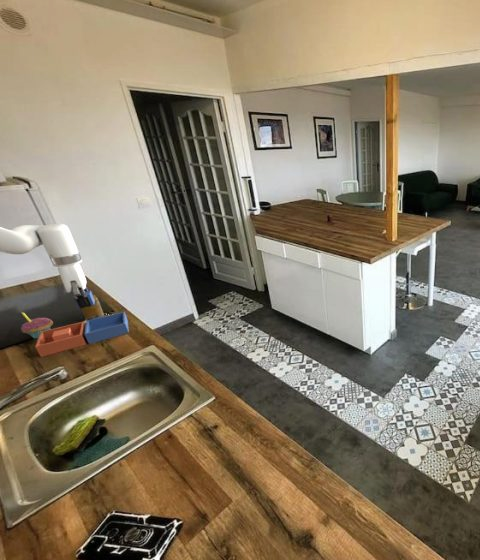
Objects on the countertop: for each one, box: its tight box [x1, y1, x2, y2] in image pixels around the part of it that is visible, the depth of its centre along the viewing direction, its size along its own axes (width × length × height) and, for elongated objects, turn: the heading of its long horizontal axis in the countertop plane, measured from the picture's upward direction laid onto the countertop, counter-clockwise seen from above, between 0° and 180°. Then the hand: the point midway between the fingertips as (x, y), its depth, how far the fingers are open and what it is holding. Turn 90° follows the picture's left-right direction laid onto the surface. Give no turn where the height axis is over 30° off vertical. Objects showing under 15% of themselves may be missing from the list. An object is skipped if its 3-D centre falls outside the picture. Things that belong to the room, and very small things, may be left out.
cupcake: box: [20, 311, 54, 339], centre depth 122 cm, size 9×8×12 cm
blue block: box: [72, 290, 95, 309], centre depth 116 cm, size 4×4×4 cm
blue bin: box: [85, 311, 130, 345], centre depth 126 cm, size 12×12×4 cm
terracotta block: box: [52, 328, 74, 341], centre depth 119 cm, size 4×4×4 cm
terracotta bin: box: [35, 320, 88, 358], centre depth 119 cm, size 12×12×4 cm
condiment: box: [80, 291, 109, 324], centre depth 134 cm, size 7×8×12 cm
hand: (86, 303), depth 117 cm, fingers closed on blue block, 4 cm apart
